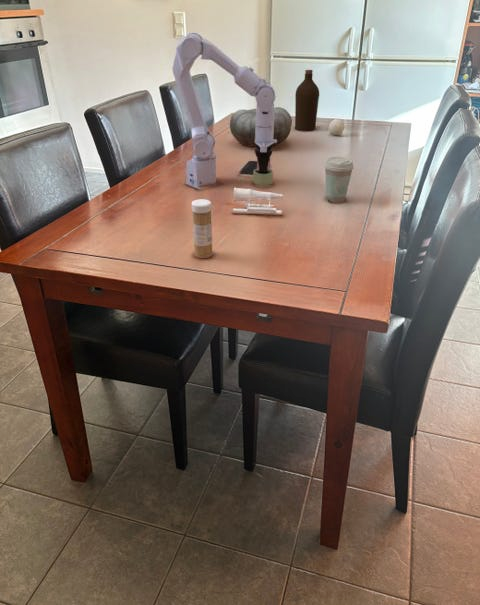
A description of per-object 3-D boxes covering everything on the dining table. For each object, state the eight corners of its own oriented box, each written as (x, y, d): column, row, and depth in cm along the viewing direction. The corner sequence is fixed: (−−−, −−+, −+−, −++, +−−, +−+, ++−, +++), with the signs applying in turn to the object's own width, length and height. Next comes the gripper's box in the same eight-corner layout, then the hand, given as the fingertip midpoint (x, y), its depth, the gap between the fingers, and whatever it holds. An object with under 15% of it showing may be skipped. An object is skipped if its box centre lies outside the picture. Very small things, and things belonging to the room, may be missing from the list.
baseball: (343, 133, 228) (344, 117, 225) (343, 137, 222) (345, 121, 218) (327, 132, 229) (329, 117, 225) (327, 136, 223) (329, 120, 219)
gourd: (290, 147, 197) (285, 100, 190) (228, 155, 203) (221, 109, 196) (295, 138, 219) (291, 96, 212) (239, 146, 225) (233, 104, 218)
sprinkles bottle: (203, 249, 126) (201, 197, 119) (216, 254, 123) (215, 201, 116) (190, 255, 123) (187, 202, 116) (203, 261, 120) (200, 207, 113)
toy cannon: (281, 219, 147) (281, 212, 142) (233, 217, 148) (231, 210, 143) (283, 194, 149) (283, 185, 143) (236, 192, 150) (234, 184, 145)
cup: (262, 189, 164) (263, 175, 162) (249, 184, 168) (249, 170, 166) (277, 184, 168) (277, 171, 165) (263, 180, 172) (263, 166, 170)
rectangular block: (269, 182, 167) (270, 159, 163) (256, 182, 167) (257, 159, 163) (269, 181, 168) (270, 158, 164) (256, 180, 168) (257, 157, 165)
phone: (269, 162, 186) (260, 174, 173) (269, 165, 186) (260, 177, 174) (248, 160, 187) (238, 172, 175) (248, 163, 188) (238, 175, 176)
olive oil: (297, 132, 230) (301, 72, 217) (290, 127, 239) (293, 68, 226) (319, 131, 232) (324, 71, 219) (312, 125, 241) (316, 68, 228)
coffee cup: (328, 205, 151) (332, 165, 145) (317, 196, 158) (320, 157, 152) (354, 203, 153) (359, 163, 147) (342, 193, 160) (346, 155, 154)
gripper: (277, 131, 152) (275, 176, 159) (277, 120, 164) (276, 162, 171) (253, 130, 152) (253, 175, 159) (255, 120, 165) (255, 162, 172)
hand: (263, 168), depth 165 cm, fingers open, 5 cm apart
